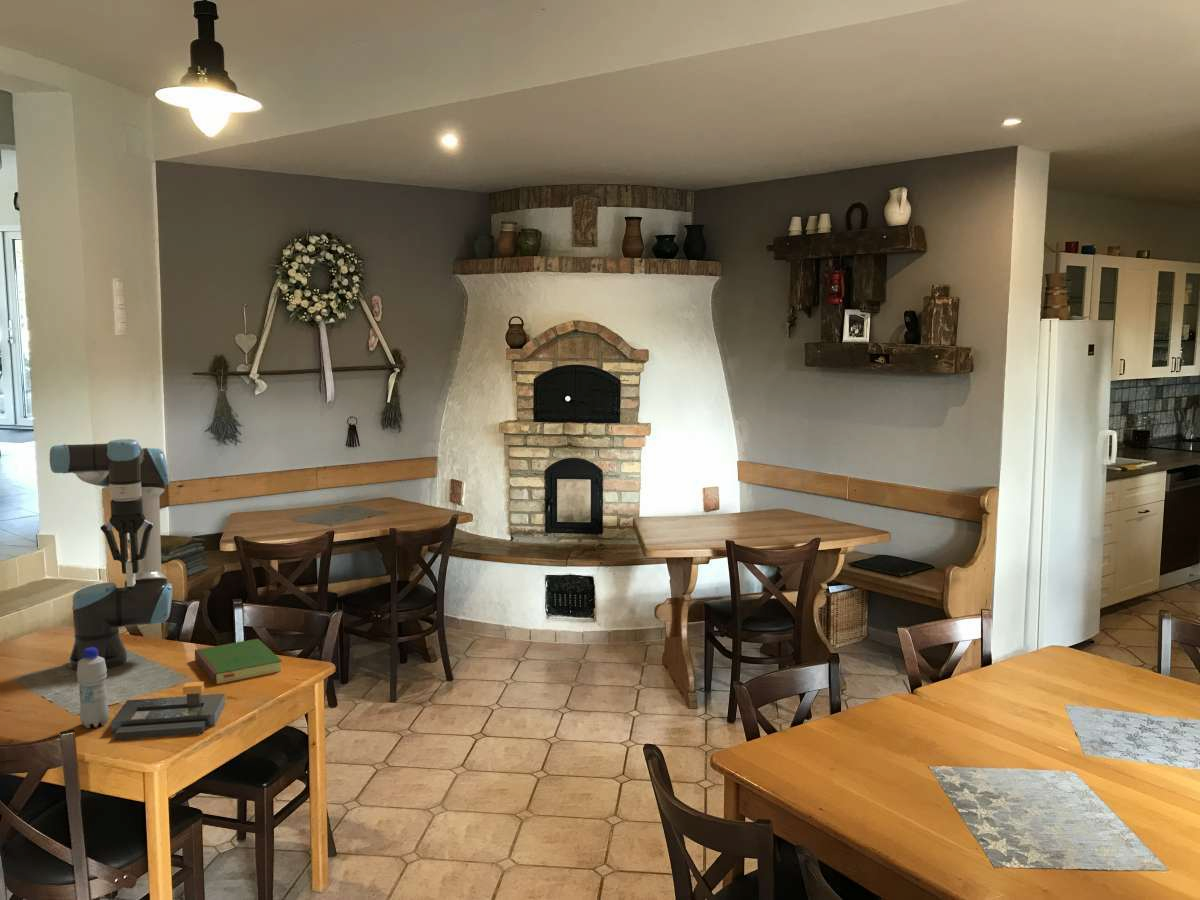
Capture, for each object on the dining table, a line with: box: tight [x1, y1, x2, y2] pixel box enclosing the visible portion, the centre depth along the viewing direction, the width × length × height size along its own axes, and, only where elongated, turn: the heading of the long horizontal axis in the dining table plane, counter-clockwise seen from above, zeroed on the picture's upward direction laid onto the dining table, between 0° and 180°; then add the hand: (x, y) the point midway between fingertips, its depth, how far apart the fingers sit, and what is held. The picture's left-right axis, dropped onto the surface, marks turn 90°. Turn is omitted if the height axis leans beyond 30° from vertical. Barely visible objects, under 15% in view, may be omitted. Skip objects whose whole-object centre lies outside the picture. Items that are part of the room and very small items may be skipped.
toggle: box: [182, 681, 205, 708], centre depth 241 cm, size 3×4×7 cm
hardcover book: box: [194, 638, 282, 686], centre depth 279 cm, size 25×19×4 cm
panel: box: [110, 693, 226, 734], centre depth 241 cm, size 14×24×3 cm, turn 102°
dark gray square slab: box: [114, 721, 207, 741], centre depth 240 cm, size 21×20×2 cm
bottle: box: [76, 647, 110, 729], centre depth 236 cm, size 7×7×20 cm
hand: (131, 584), depth 251 cm, fingers closed
